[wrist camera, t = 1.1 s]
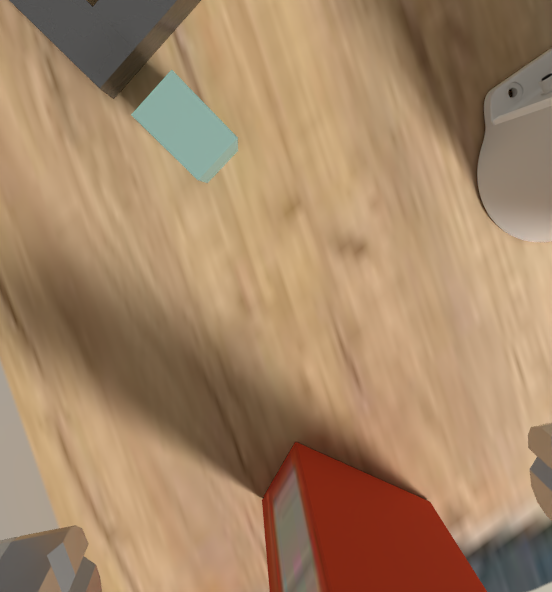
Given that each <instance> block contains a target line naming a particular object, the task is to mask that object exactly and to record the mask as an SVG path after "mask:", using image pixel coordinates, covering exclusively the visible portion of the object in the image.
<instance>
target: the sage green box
mask: <svg viewBox="0 0 552 592" xmlns="http://www.w3.org/2000/svg"><path fill="white" fill-rule="evenodd" d="M131 115H132V116H133V117H134V118H135V119H136V120H137V121H138V122H139V123H140V124H141V125H142V126H143V127H144V128H145V129H146V130H147V131H148V132H149V133H150V134H151V135H152V136H153V137H154V138H155V139H156V140H157V141H158V142H159V143H160V144H161V145H162V146H163V147H164V148H165V149H166V150H168V151H169V152H170V153H171V154H172V155H173V156H174V157H175V158H176V159H177V160H178V161H179V162H180V163H181V164H182V165H183V166H184V167H185V168H186V169H187V170H188V171H189V172H190V173H191V174H192V175H193V176H194V177H195V178H196V179H197V180H199V181H202V182H206V183H208V182H209V181H210V180H211V179H212V178H213V177H214V176H215V175H216V174H217V173H218V171H219V170H220V169H221V168H222V167H223V166H224V165H225V164H226V163H227V162H228V161H229V160H230V159H231V158H232V157H233V156H234V154H235V153H236V152H237V151H238V138H237V137H236V136H235V135H234V133H233V132H232V131H231V130H230V129H229V128H228V127H227V126H226V125H225V124H224V123H223V122H222V121H221V120H220V119H219V118H218V117H217V116H216V115H215V114H214V113H213V112H212V111H211V110H210V109H209V108H208V107H207V106H206V105H205V104H204V102H203V101H202V100H201V99H200V98H199V97H198V96H197V95H196V94H195V93H194V92H193V91H192V90H191V89H190V88H189V87H188V86H187V85H186V84H185V83H184V82H183V81H182V80H181V79H180V78H179V77H178V76H177V75H176V74H175V73H174V71H173V70H171V71H170V72H169V73H168V74H167V75H166V76H165V78H164V79H163V80H162V81H161V82H160V83H159V84H158V85H157V87H156V88H155V89H154V90H153V91H152V92H151V93H150V94H149V95H148V97H147V98H146V99H145V100H144V101H143V102H142V103H141V104H140V105H139V107H138V108H137V109H136V110H135V111H134V112H133V113H132V114H131Z"/></svg>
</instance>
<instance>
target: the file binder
mask: <svg viewBox="0 0 552 592" xmlns="http://www.w3.org/2000/svg"><path fill="white" fill-rule="evenodd" d="M262 505H263V517H264V529H265V541H266V552H267V564H268V576H269V588H270V592H487V591H486V589H485V588H484V586H483V585H482V583H481V582H480V580H479V578H478V577H477V575H476V574H475V572H474V570H473V569H472V567H471V566H470V564H469V563H468V561H467V559H466V558H465V556H464V555H463V553H462V552H461V550H460V548H459V547H458V545H457V544H456V542H455V541H454V539H453V537H452V536H451V534H450V533H449V531H448V529H447V528H446V526H445V525H444V523H443V522H442V520H441V518H440V517H439V515H438V514H437V512H436V511H435V509H434V507H433V506H432V504H431V503H430V502H429V501H427V500H425V499H423V498H420V497H418V496H416V495H414V494H411V493H409V492H407V491H405V490H403V489H400V488H398V487H396V486H394V485H391V484H389V483H387V482H385V481H382V480H380V479H378V478H376V477H373V476H371V475H369V474H367V473H364V472H362V471H360V470H358V469H356V468H353V467H351V466H349V465H347V464H344V463H342V462H340V461H338V460H335V459H333V458H331V457H329V456H326V455H324V454H322V453H320V452H317V451H315V450H313V449H311V448H308V447H306V446H304V445H302V444H300V443H297V442H295V443H294V445H293V447H292V449H291V450H290V452H289V454H288V455H287V457H286V459H285V461H284V462H283V464H282V466H281V467H280V469H279V471H278V473H277V474H276V476H275V478H274V479H273V481H272V483H271V485H270V486H269V488H268V490H267V491H266V493H265V495H264V498H263V500H262Z"/></svg>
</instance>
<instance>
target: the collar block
mask: <svg viewBox="0 0 552 592" xmlns="http://www.w3.org/2000/svg"><path fill="white" fill-rule="evenodd" d="M10 1H11V2H12V3H13V4H14V5H15V6H16V7H17V8H18V9H19V10H20V11H21V12H22V13H23V14H24V15H25V16H26V17H27V18H28V19H29V20H30V21H31V22H32V23H33V24H34V25H35V26H36V27H37V28H38V29H39V30H40V31H41V32H42V33H43V34H44V35H46V36H47V37H48V38H49V39H50V40H51V41H52V42H53V43H54V44H55V45H56V46H57V47H58V48H59V49H60V50H61V51H62V52H63V53H64V54H65V55H66V56H67V57H68V58H69V59H70V60H71V61H72V62H73V63H74V64H75V65H76V66H77V67H78V68H79V69H80V70H81V71H82V72H83V73H84V74H85V75H86V76H87V77H89V78H90V79H91V80H92V81H93V82H94V83H95V84H96V85H97V86H98V87H99V88H100V89H101V90H102V91H104V92H105V93H106V94H108V95H109V96H110V97H112V98H113V99H114V98H115V97H116V96H117V95H118V93H119V92H120V91H121V90H122V89H123V88H124V87H125V86H126V84H127V83H128V82H129V81H130V80H131V79H132V78H133V77H134V75H135V74H136V73H137V72H138V71H139V70H140V69H141V68H142V66H143V65H144V64H145V63H146V62H147V61H148V60H149V58H150V57H151V56H152V55H153V54H154V53H155V52H156V51H157V49H158V48H159V47H160V46H161V45H162V44H163V43H164V42H165V40H166V39H167V38H168V37H169V36H170V35H171V34H172V33H173V31H174V30H175V29H176V28H177V27H178V26H179V25H180V23H181V22H182V21H183V20H184V19H185V18H186V17H187V16H188V14H189V13H190V12H191V11H192V10H193V9H194V8H195V7H196V5H197V4H198V3H199V2H200V1H201V0H98V1H97V3H96V4H95V5H94V6H93V7H92V6H91V5H90V4H89V3H88V2H87V1H86V0H10Z"/></svg>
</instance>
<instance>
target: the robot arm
mask: <svg viewBox="0 0 552 592" xmlns="http://www.w3.org/2000/svg"><path fill="white" fill-rule="evenodd" d="M509 89H510V90H512V92H513V96H512V97H510V96H509V95H508V92H509ZM484 118H485V127H486V130H485V136H484V140H483V144H482V147H481V151H480V155H479V160H478V170H477V178H478V188H479V193H480V196H481V200H482V202H483V205H484V207H485V209H486V211H487V213H488V214H489V216H490V217H491V219H492V220H493V221H494V222H495V223H496V224H497V225H498V226H499V227H500V228H501V229H502V230H504V231H505V232H506V233H508V234H510V235H512V236H514V237H516V238H518V239H521V240H525V241H530V242H549V241H552V48H550V49H549V50H548V51H546V52H545V53H543V54H542V55H540V56H539V57H537V58H536V59H535V60H533V61H532V62H530V63H529V64H527V65H526V66H524V67H523V68H521V69H520V70H519V71H517V72H516V73H514V74H513V75H511V76H510V77H508V78H507V79H506V80H504V81H503V82H501V83H500V84H498V85H497V86H495V87H494V88H493V89H491V90H490V91H489V92H488V93H487V95H486V97H485V101H484ZM528 448H529V449H530V450H531V451H532V452H533V453H534V454H535V455H536V456H537V458H536V460H535V461H534V463H533V465H532V466H531V468H530V478H531V486H532V489H533V492H534V494H535V497H536V499H537V502H538V503H539V505H540V507H541V508H542V510H543V511H544V513H545V514H546V515H547V516H548V517H549V519H550V520H551V521H552V423H548V424H543V425H539V426H534V427H531V428H530V431H529V434H528ZM87 546H88V541H87V539H86V537H85V534H84V532H83V529H82V528H80V527H78V526H76V525H75V526H70V527H65V528H59V529H54V530H49V531H44V532H39V533H33V534H28V535H24V536H20V537H14V538H9V539H4V540H0V592H102V588H101V581H100V575H99V572H98V569H97V566H96V564H94V563H93V562H91V561H90V560H88V559H87V558H85V557H84V554H85V551H86V549H87Z"/></svg>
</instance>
